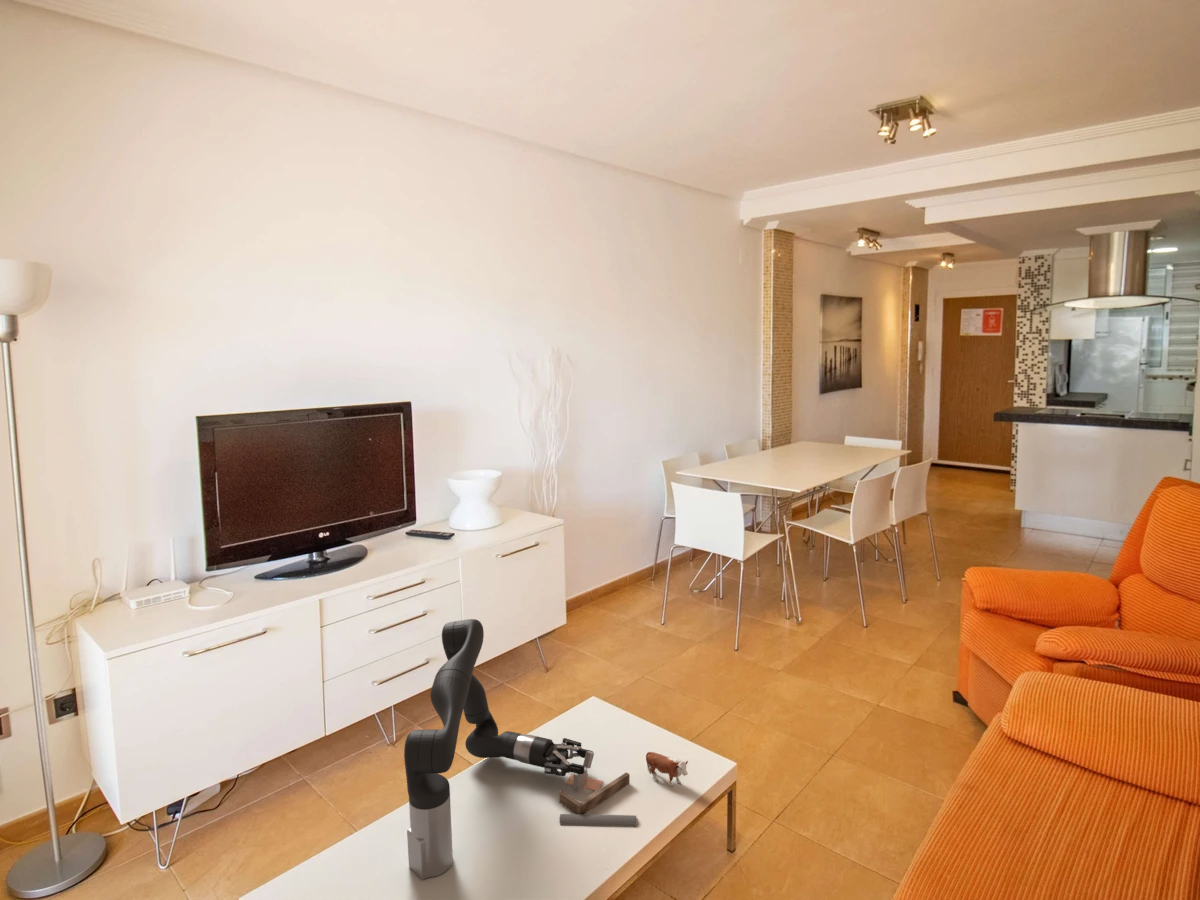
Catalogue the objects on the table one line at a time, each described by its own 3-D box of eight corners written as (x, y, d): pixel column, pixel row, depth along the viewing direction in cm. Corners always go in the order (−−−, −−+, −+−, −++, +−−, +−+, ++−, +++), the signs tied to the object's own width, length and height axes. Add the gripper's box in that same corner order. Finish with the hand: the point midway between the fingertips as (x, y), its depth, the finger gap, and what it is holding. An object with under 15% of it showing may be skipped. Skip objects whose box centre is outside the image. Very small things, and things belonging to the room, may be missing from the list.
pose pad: (597, 791, 187) (597, 790, 187) (565, 783, 191) (565, 783, 190) (603, 781, 191) (603, 781, 191) (571, 774, 195) (571, 773, 195)
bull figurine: (684, 795, 186) (685, 767, 184) (643, 776, 194) (643, 750, 192) (692, 787, 189) (693, 760, 188) (651, 768, 197) (651, 742, 196)
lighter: (578, 790, 187) (578, 764, 186) (573, 788, 188) (573, 761, 187) (594, 777, 193) (594, 751, 191) (589, 774, 194) (589, 749, 193)
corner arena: (579, 817, 177) (579, 806, 177) (559, 802, 183) (559, 792, 182) (629, 784, 190) (629, 774, 190) (608, 771, 196) (608, 761, 195)
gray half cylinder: (636, 829, 174) (636, 823, 173) (559, 827, 174) (559, 821, 174) (636, 817, 178) (636, 811, 177) (560, 816, 178) (560, 810, 178)
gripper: (521, 752, 188) (578, 765, 182) (543, 724, 201) (597, 736, 196) (522, 777, 189) (579, 791, 184) (544, 748, 202) (597, 760, 197)
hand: (588, 762), depth 190 cm, fingers closed on lighter, 6 cm apart
